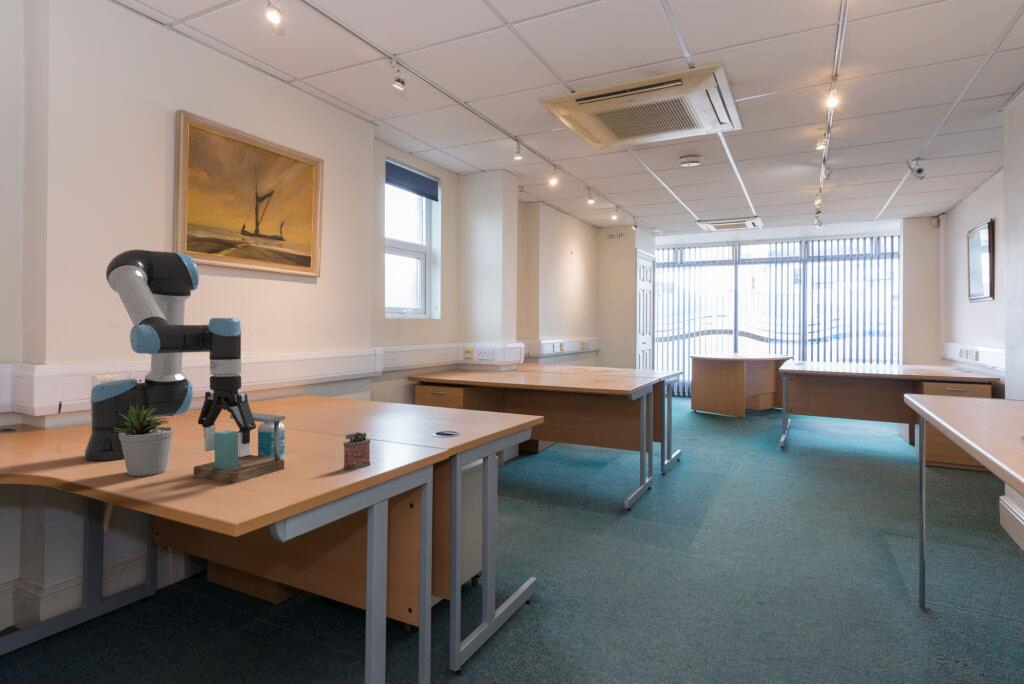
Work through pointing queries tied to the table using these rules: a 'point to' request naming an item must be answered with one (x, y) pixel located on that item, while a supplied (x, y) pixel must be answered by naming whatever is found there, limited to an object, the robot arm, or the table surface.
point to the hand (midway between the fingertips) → (226, 453)
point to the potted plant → (145, 443)
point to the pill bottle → (270, 440)
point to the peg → (226, 449)
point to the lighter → (356, 451)
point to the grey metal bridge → (276, 420)
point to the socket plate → (240, 469)
